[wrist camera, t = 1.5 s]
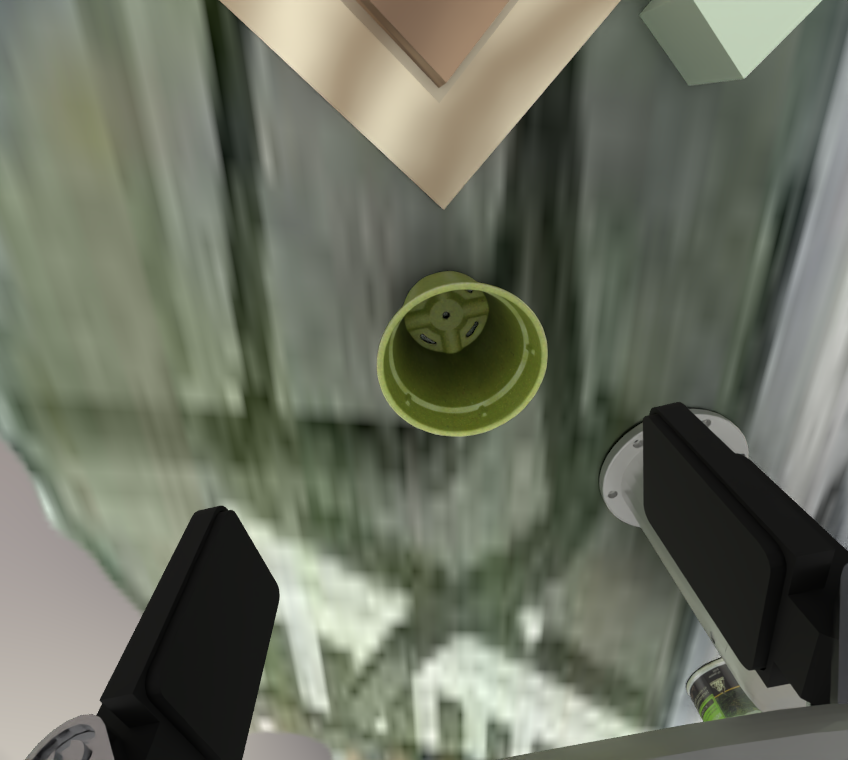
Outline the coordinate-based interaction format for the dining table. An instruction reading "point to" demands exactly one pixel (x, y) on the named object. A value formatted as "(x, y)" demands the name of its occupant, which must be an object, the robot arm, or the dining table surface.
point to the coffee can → (718, 693)
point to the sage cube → (721, 34)
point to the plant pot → (461, 356)
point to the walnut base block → (435, 29)
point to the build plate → (426, 77)
